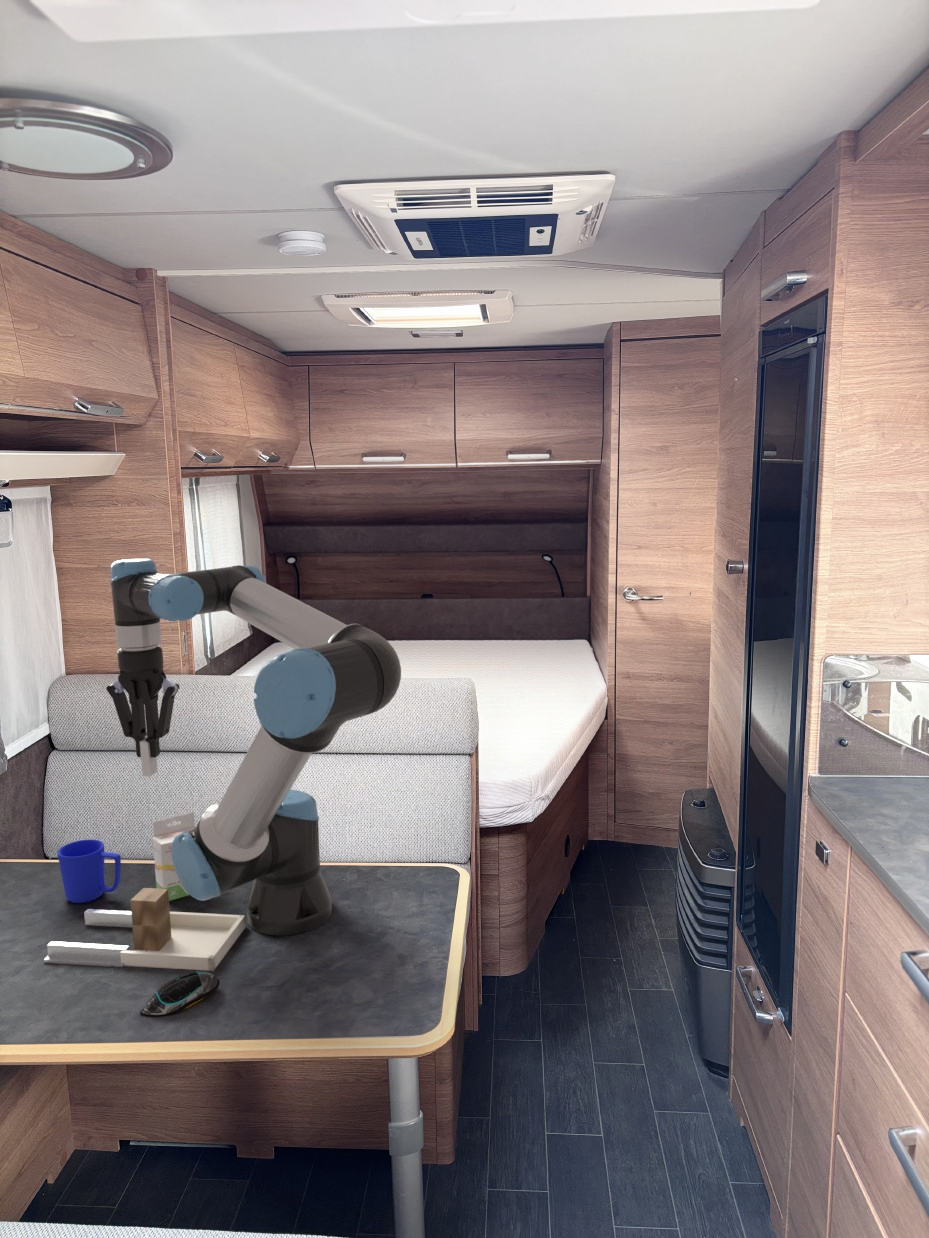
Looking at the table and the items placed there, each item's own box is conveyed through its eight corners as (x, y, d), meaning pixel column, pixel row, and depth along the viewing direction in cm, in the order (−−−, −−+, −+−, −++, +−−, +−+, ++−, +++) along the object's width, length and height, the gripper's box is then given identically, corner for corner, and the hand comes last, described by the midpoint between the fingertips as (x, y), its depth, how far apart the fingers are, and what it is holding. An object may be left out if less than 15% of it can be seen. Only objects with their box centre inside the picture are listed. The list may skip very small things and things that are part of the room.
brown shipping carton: (145, 911, 154) (169, 913, 154) (132, 924, 150) (157, 926, 149) (143, 887, 154) (167, 888, 153) (130, 900, 149) (155, 901, 149)
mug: (110, 910, 165) (105, 860, 163) (52, 905, 167) (47, 855, 166) (135, 890, 173) (130, 841, 171) (79, 885, 175) (75, 837, 174)
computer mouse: (135, 1006, 135) (133, 981, 135) (214, 980, 142) (212, 956, 141) (145, 1027, 130) (142, 1001, 130) (226, 999, 137) (224, 975, 136)
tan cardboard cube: (147, 935, 155) (171, 937, 155) (134, 949, 151) (159, 950, 150) (145, 911, 154) (169, 913, 154) (132, 924, 150) (157, 926, 149)
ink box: (164, 903, 167) (158, 829, 165) (156, 893, 171) (150, 821, 169) (209, 890, 172) (204, 818, 170) (199, 880, 176) (194, 810, 174)
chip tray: (245, 927, 158) (245, 915, 157) (213, 971, 144) (212, 958, 144) (161, 923, 160) (160, 910, 159) (121, 965, 146) (120, 952, 146)
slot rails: (164, 922, 160) (163, 909, 160) (122, 967, 146) (121, 953, 145) (92, 918, 162) (91, 905, 162) (44, 962, 148) (42, 948, 147)
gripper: (183, 642, 159) (193, 768, 163) (116, 642, 161) (126, 766, 165) (164, 651, 152) (174, 782, 156) (93, 650, 154) (105, 779, 158)
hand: (150, 773), depth 161 cm, fingers closed
